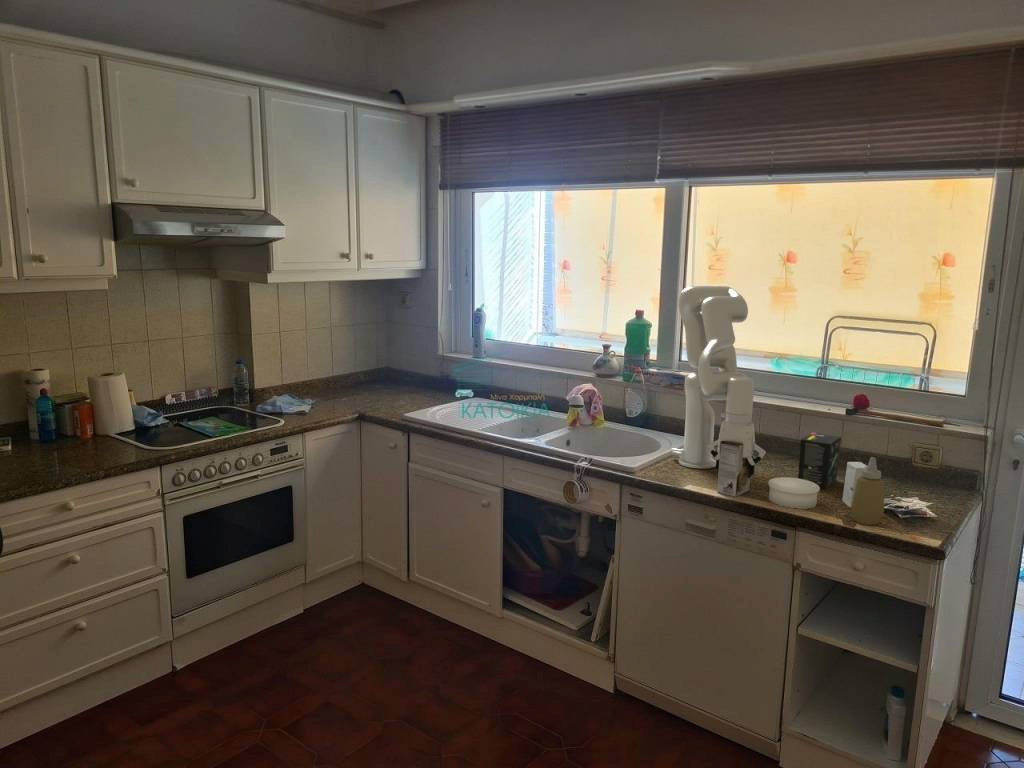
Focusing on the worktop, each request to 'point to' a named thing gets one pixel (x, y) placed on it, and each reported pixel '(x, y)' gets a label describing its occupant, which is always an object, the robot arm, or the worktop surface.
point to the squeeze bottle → (869, 496)
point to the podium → (793, 492)
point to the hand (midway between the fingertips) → (734, 474)
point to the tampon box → (819, 459)
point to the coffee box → (732, 469)
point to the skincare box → (852, 480)
